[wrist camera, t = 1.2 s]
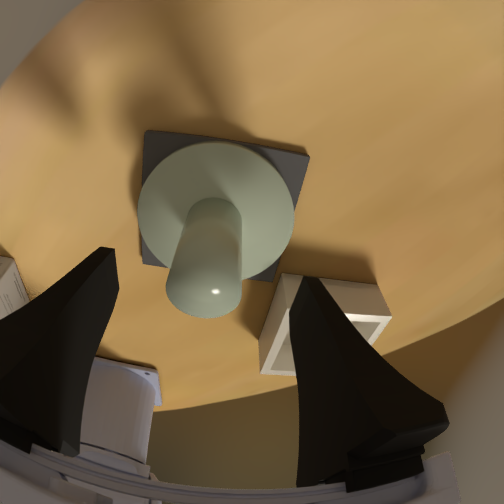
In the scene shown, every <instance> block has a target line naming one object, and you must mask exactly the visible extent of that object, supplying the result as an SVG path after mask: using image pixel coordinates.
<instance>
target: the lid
mask: <svg viewBox="0 0 504 504" xmlns="http://www.w3.org/2000/svg"><path fill="white" fill-rule="evenodd" d="M137 216H138V224H139V228H140V231H141V234H142V237H143V239H144V241H145V243H146V245H147V246H148V248H149V249H150V251H151V252H152V253H153V254H154V255H155V257H156V258H157V259H158V260H159V261H161V262H162V263H163V264H164V265H165V266H167V267H168V268H170V271H169V275H168V278H167V282H166V293H167V296H168V298H169V300H170V301H171V302H172V304H173V305H174V306H175V307H176V308H178V309H179V310H181V311H182V312H184V313H186V314H188V315H191V316H195V317H199V318H216V317H220V316H223V315H226V314H228V313H230V312H231V311H233V310H234V309H235V308H236V307H237V305H238V304H239V302H240V300H241V296H242V280H244V279H247V278H250V277H252V276H254V275H256V274H258V273H260V272H262V271H263V270H265V269H266V268H268V267H269V266H270V265H272V264H273V263H274V262H275V261H276V260H277V259H278V258H279V257H280V255H281V254H282V253H283V251H284V250H285V248H286V246H287V245H288V243H289V240H290V238H291V235H292V231H293V227H294V207H293V202H292V198H291V195H290V192H289V189H288V187H287V184H286V182H285V180H284V179H283V177H282V175H281V174H280V172H279V171H278V170H277V169H276V167H275V166H274V165H273V164H272V163H271V162H270V161H268V160H267V159H266V158H265V157H263V156H262V155H261V154H259V153H257V152H256V151H254V150H252V149H250V148H248V147H245V146H242V145H240V144H236V143H231V142H226V141H203V142H198V143H193V144H190V145H187V146H184V147H182V148H180V149H178V150H176V151H174V152H172V153H171V154H170V155H168V156H167V157H165V158H164V159H163V160H162V161H161V162H160V163H159V164H158V165H157V166H156V167H155V169H154V170H153V171H152V173H151V174H150V175H149V176H148V178H147V180H146V181H145V183H144V185H143V187H142V190H141V192H140V196H139V200H138V208H137Z"/></svg>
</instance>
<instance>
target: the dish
mask: <svg viewBox="0 0 504 504" xmlns="http://www.w3.org/2000/svg"><path fill="white" fill-rule="evenodd" d="M308 277H310V276H308ZM302 278H303V276H302V275H294V274H287V273H282V274H281V277H280V280H279V283H278V286H277V289H276V291H275V294H274V297H273V300H272V303H271V306H270V309H269V312H268V315H267V318H266V321H265V323H264V326H263V329H262V332H261V335H260V338H259V340H258V346H259V366H260V374H272V375H294V376H296V372H295V366H294V360H293V354H292V347H291V341H290V334H289V310H290V308H291V306H292V303H293V301H294V298H295V296H296V293H297V291H298V288H299V286H300V283H301V281H302ZM316 278H318V277H316ZM319 279H320V281H321V282H322V283H323V285H324V286H325V287H326V289H327V290H328V292H329V293H330V294H331V296H332V297H333V299H334V300H335V301H336V303H337V304H338V306H339V307H340V308H341V310H342V311H343V312H344V314H345V315H346V316H347V318H348V319H349V320H350V321H351V323H352V324H353V325H354V327H355V328H356V329H357V330H358V331H359V333H360V334H361V335H362V336H363V337H364V339H365V340H366V341H367V342H368V343H369V344H370V345H371V346H372V344H373V343H374V342H375V340H376V339H377V337H378V336H379V335H380V333H381V332H382V331H383V329H384V328H385V326H386V325H387V323H388V322H389V321H390V319H391V318H392V315H391V312H390V310H389V308H388V306H387V304H386V301H385V299H384V297H383V295H382V293H381V291H380V289H379V286H378V285H375V284H367V283H358V282H350V281H342V280H334V279H326V278H319Z"/></svg>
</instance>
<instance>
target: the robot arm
mask: <svg viewBox="0 0 504 504" xmlns="http://www.w3.org/2000/svg"><path fill="white" fill-rule="evenodd" d="M118 292H119V282H118V274H117V266H116V257H115V249H113V248H107V247H99V248H98V249H97V250H95V251H94V252H93V253H92V254H90V255H89V256H88V257H87V258H85V259H84V260H83V261H82V262H81V263H79V264H78V265H77V266H76V267H75V268H73V269H72V270H71V271H70V272H69V273H67V274H66V275H65V276H64V277H62V278H61V279H60V280H59V281H57V282H56V283H55V284H53V285H52V286H51V287H50V288H48V289H47V290H46V291H44V292H43V293H42V294H40V295H39V296H38V297H36V298H35V299H33V300H32V301H30V302H29V303H27V304H26V305H24V306H23V307H21V308H19V309H18V310H16V311H14V312H13V313H11V314H9V315H7V316H6V317H4V318H2V319H0V502H1V503H3V504H162V502H169V503H176V504H459V503H460V502H461V497H460V492H459V488H458V483H457V479H456V475H455V470H454V466H453V463H452V459H451V455H450V452H449V451H446V452H444V453H441V454H438V455H435V456H432V457H430V458H427V459H425V460H422V459H421V454H423V453H424V452H425V449H424V446H423V445H424V444H425V443H427V442H428V441H430V440H432V439H433V438H435V437H437V436H438V435H440V434H441V433H442V432H444V431H445V430H446V429H447V428H448V426H449V420H448V417H447V414H446V411H445V408H444V405H443V403H441V402H440V401H438V400H436V399H435V398H433V397H432V396H430V395H429V394H427V393H426V392H424V391H422V390H421V389H419V388H418V387H417V386H415V385H414V384H413V383H411V382H410V381H409V380H408V379H406V378H405V377H404V376H403V375H401V374H400V373H399V372H398V371H397V370H396V369H394V368H393V367H392V366H391V365H390V364H389V363H387V361H385V360H384V359H383V358H382V357H381V356H380V355H379V353H378V352H377V351H376V350H375V349H374V348H373V347H372V346H371V345H370V344H369V343H368V342H367V341H366V340H365V339H364V337H363V336H362V335H361V334H360V333H359V331H358V330H357V329H356V328H355V327H354V325H353V324H352V323H351V321H350V320H349V319H348V318H347V316H346V315H345V314H344V312H343V311H342V310H341V308H340V307H339V306H338V304H337V303H336V301H335V300H334V299H333V297H332V296H331V294H330V293H329V292H328V290H327V289H326V287H325V286H324V285H323V283H322V282H321V281H320V279H319V278H316V277H308V276H303V278H302V281H301V283H300V286H299V288H298V291H297V293H296V296H295V298H294V301H293V303H292V306H291V308H290V310H289V334H290V341H291V347H292V354H293V360H294V366H295V372H296V378H297V384H298V393H299V457H298V470H297V480H296V485H297V488H286V489H221V488H207V487H196V486H187V485H179V484H172V483H165V482H159V481H158V480H157V478H156V476H155V475H154V474H153V473H150V466H148V465H145V464H146V456H147V447H148V441H149V434H150V427H151V420H152V413H153V408H154V405H156V406H161V405H162V398H161V391H160V383H159V374H158V371H157V370H155V369H151V368H146V367H141V366H136V365H131V364H126V363H121V362H116V361H112V360H108V359H103V358H99V357H95V355H96V352H97V349H98V347H99V344H100V342H101V339H102V337H103V334H104V332H105V329H106V327H107V324H108V322H109V319H110V317H111V314H112V312H113V309H114V306H115V302H116V299H117V295H118ZM51 450H52V451H53V452H52V451H51Z"/></svg>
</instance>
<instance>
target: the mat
mask: <svg viewBox="0 0 504 504" xmlns="http://www.w3.org/2000/svg"><path fill="white" fill-rule="evenodd" d="M203 141H226V142H231V143H236V144H240V145H242V146H245V147H248V148H250V149H252V150H254V151H256V152H257V153H259V154H261V155H262V156H263V157H265V158H266V159H267V160H268V161H270V162H271V163H272V164H273V165H274V166H275V167H276V169H277V170H278V171H279V172H280V174H281V175H282V177H283V179H284V180H285V182H286V184H287V187H288V189H289V192H290V195H291V198H292V202H293V207H294V211H295V207H296V204H297V201H298V197H299V194H300V191H301V187H302V184H303V180H304V177H305V173H306V170H307V166H308V163H309V159H310V157H309V155H306V154H302V153H297V152H293V151H288V150H283V149H278V148H273V147H268V146H263V145H257V144H252V143H246V142H240V141H234V140H227V139H221V138H214V137H207V136H199V135H191V134H183V133H173V132H163V131H152V130H147V131H145V135H144V150H143V169H142V187H143V185H144V183H145V181H146V180H147V178H148V176H149V175H150V174H151V173H152V171H153V170H154V169H155V167H156V166H157V165H158V164H159V163H160V162H161V161H162V160H163V159H164V158H165V157H167V156H168V155H170V154H171V153H172V152H174V151H176V150H178V149H180V148H182V147H184V146H187V145H190V144H193V143H198V142H203ZM280 257H281V255H280ZM280 257H279V258H278V259H277V260H276V261H275V262H274V263H273V264H272V265H270V266H269V267H268V268H266V269H265V270H263V271H262V272H260V273H258V274H256V275H254V276H252V277H250V278H247V279H252V280H259V281H267V282H273V279H274V276H275V273H276V269H277V266H278V263H279V260H280ZM142 262H143V264H147V265H153V266H160V267H166V268H168V267H167V266H165V265H164V264H163V263H162V262H161V261H159V260H158V259H157V258H156V257H155V255H154V254H153V253H152V252H151V251H150V249H149V248H148V246H147V245H146V243H145V241H144V239H143V237H142Z"/></svg>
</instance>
